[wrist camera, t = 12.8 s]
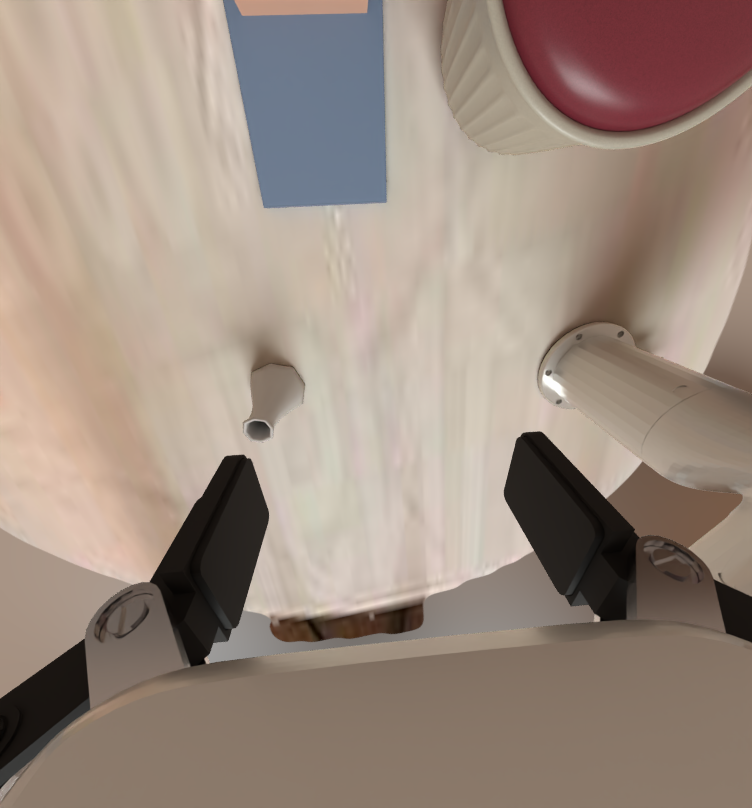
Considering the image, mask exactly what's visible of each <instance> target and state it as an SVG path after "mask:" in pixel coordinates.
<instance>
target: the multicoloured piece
mask: <svg viewBox="0 0 752 808" xmlns="http://www.w3.org/2000/svg"><path fill="white" fill-rule="evenodd" d="M223 2H224V7H225V12H226V18H227V23H228V28H229V33H230V38H231V43H232V48H233V53H234V58H235V63H236V68H237V73H238V79H239V84H240V89H241V94H242V99H243V104H244V109H245V114H246V119H247V124H248V129H249V135H250V140H251V145H252V150H253V155H254V160H255V165H256V170H257V175H258V180H259V185H260V190H261V196H262V201H263V206H264V208H281V207H303V206H324V205H345V204H367V203H386V202H387V199H386V152H385V105H384V57H383V10H382V0H223Z"/></svg>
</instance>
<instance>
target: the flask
mask: <svg viewBox="0 0 752 808" xmlns="http://www.w3.org/2000/svg"><path fill="white" fill-rule="evenodd" d="M304 389H305V385H304V383H303V381H302V380H301V378H300V377H299V375H298V374H297V372H296V371H295V369H294V368H293V367H288V366H282V365H277V364H271V363H270V364H268V365H266V366H264V367H262V368H260V369H258V370H255V371H253V372H251V397H252V404H253V408H252V413H251V415H250V417H249V419H247V420H245V421H244V422H243V433H244V434H245V435H246V437H247V438H248V439H249V440H250V441H253V442H261V443H263V442H265V441H268V440H270V439H272V438H273V433H274V426H275V425H276V424H277V423H278V421H279V420H280V419H281V418H282V417H284V416H285V415H287V414H288V413H289V412H291V411H292V410H294V409H295V408H297V407H298V406H300V405H301V404H303V397H304Z"/></svg>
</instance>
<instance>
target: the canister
mask: <svg viewBox="0 0 752 808" xmlns="http://www.w3.org/2000/svg"><path fill="white" fill-rule="evenodd" d="M442 33H443V39H442V44H441V55H442V67H441V71H442V75H443V78H444V90H445V92H446V95H447V99H448V105H449V106H450V108H451V110H452V112H453V117H454V119H455V120H456V121H457V122H458V124H459V126H460V129H461V130H463V131H464V132H465V133H466V134H467V136H468V138H469V139H470V140H473V141H474V142H475V143H476V144H477V145H478V146H479V147H483V148H485V149H487V151H489V152H497V153H498V154H501V155H506V154H511V155H521V154H530V153H537V152H543V151H549V150H555V149H561V148H566V147H572V146H577V145H584V146H588V147H592V148H598V149H608V150H620V149H631V148H637V147H642V146H646V145H650V144H653V143H657V142H660V141H663V140H666V139H668V138H671V137H673V136H676V135H678V134H680V133H682V132H684V131H686V130H688V129H690V128H692V127H694V126H696V125H698V124H700V123H701V122H703V121H705V120H706V119H708V118H709V117H711V116H713V115H714V114H716V113H717V112H719V111H720V110H722V109H723V108H724V107H726V106H727V105H728V104H730V103H731V102H732V101H734V100H735V99H736V98H738V97H739V96H740V95H741V94H743V93H744V92H745V91H746V90H747V89H749V88H750V87H751V86H752V0H447V7H446V12H445V16H444V21H443V29H442Z"/></svg>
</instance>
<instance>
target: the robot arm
mask: <svg viewBox="0 0 752 808" xmlns="http://www.w3.org/2000/svg"><path fill="white" fill-rule="evenodd" d="M538 385H539V389H540V392H541V394H542V395H543V396H544V398H545V399H546V400H547V401H549V402H550V403H551V404H553V405H554V406H556V407H559V408H563V409H577V410H578V411H580V412H581V413H582V414H584V415H585V416H586V417H587V418H589V419H590V420H591V421H592V422H594V423H595V424H596V425H598V426H599V427H600V428H601V429H603V430H604V431H605V432H606V433H608V434H609V435H610V436H612V437H613V438H614V439H615V440H617V441H618V442H619V443H620V444H622V445H623V446H624V447H625V448H627V449H628V450H629V451H631V452H632V453H633V454H634V455H636V456H637V457H638V458H639V459H641V460H642V461H643V462H645V463H646V464H647V465H649V466H650V467H651V468H652V469H654V470H655V471H656V472H658V473H659V474H660V475H662V476H663V477H665V478H667V479H669V480H671V481H672V482H675V483H677V484H680V485H683V486H686V487H690V488H694V489H699V490H706V491H713V492H724V493H737V494H742V495H743V500H742V502H741V503H740V505H738V506H737V507H736V508H735V509H734V510H733V511H732V512H731V513H730V514H729V516H728V517H727V518H726V519H724V520H723V521H722V522H721V523H719V524H718V525H717V526H715V527H714V528H713V529H712V530H710V531H709V532H708V533H707V534H706V535H704V536H703V537H702V538H700V539H699V540H698V541H697V542H696V543H694V544H693V545H692V546H690V547H689V548H688V549H687V548H686V547H684V546H683V545H681V544H679V543H677V542H675V541H673V540H670V539H667V538H664V537H661V536H654V535H647V536H643V537H641V538H639V537H638V536H637V535H636V534H635V533H634V530H635V529H634V528H633V527H632V526H631V525H630V524H629V523H628V522H627V521H626V520H625V519H624V518H623V516H621V514H620V513H619V512H618V511H617V510H616V509H615V508H614V507H613V506H612V505H611V504H610V503H609V502H608V501H607V500H606V499H605V498H604V497H603V495H602V494H601V493H600V492H599V491H598V490H597V489H596V488H595V487H594V486H593V485H592V484H591V483H590V482H589V481H588V480H587V479H586V478H585V477H584V475H583V474H582V473H581V472H580V471H579V470H578V469H577V468H576V467H575V466H574V465H573V464H572V463H571V462H570V461H569V460H568V459H567V458H566V457H565V456H564V454H563V453H562V452H561V451H560V450H559V449H558V448H557V447H556V446H555V445H554V444H553V443H552V442H551V441H550V440H549V439H548V438H547V437H546V436H545V434H543V433H542V432H526V433H523V434H522V435H521V437H518V438H517V440H516V444H515V448H514V452H513V456H512V460H511V464H510V468H509V472H508V476H507V480H506V484H505V488H504V497H505V500H506V502H507V504H508V506H509V507H510V509H511V511H512V513H513V514H514V516H515V518H516V520H517V521H518V523H519V525H520V527H521V528H522V530H523V532H524V534H525V535H526V537H527V539H528V541H529V542H530V544H531V546H532V548H533V549H534V551H535V553H536V554H537V556H538V558H539V560H540V561H541V563H542V565H543V567H544V569H545V570H546V572H547V574H548V576H549V577H550V579H551V581H552V583H553V584H554V586H555V588H556V589H557V591H558V592H559V593H560V594H561V595H565V597H566V598H567V600H568V602H569V604H570V605H571V606H579V605H589V606H590V607H591V609H592V610H593V612H594V614H595V615H594V622H589V623H576V624H564V625H553V626H543V627H533V628H523V629H513V630H503V631H493V632H482V633H473V634H463V635H453V636H444V637H434V638H424V639H415V640H405V641H396V642H386V643H376V644H367V645H358V646H349V647H340V648H330V649H322V650H312V651H303V652H294V653H285V654H276V655H268V656H260V657H253V658H245V659H237V660H230V661H222V662H215V663H210V662H209V660H208V657H207V656H208V655H209V654H210V651H211V648H212V645H213V643H216V642H225V641H228V640H229V637H230V634H231V630H232V629H233V628H236V627H237V626H238V624H239V621H240V617H241V614H242V611H243V607H244V604H245V601H246V597H247V594H248V590H249V587H250V583H251V580H252V576H253V573H254V569H255V566H256V563H257V559H258V556H259V552H260V549H261V545H262V542H263V538H264V535H265V531H266V528H267V525H268V521H269V511H268V508H267V505H266V502H265V499H264V496H263V493H262V490H261V487H260V484H259V481H258V478H257V475H256V472H255V469H254V466H253V463H252V461H251V459H249V458H248V459H247V458H246V456H245V455H232V456H226V457H224V459H223V460H222V462H221V464H220V466H219V467H218V469H217V471H216V473H215V474H214V476H213V478H212V480H211V481H210V483H209V485H208V487H207V489H206V490H205V492H204V494H203V496H202V497H201V498H200V499H198V500H197V502H196V503H195V504H194V506H193V508H192V510H191V511H190V513H189V515H188V517H187V518H186V520H185V522H184V523H183V525H182V527H181V529H180V530H179V532H178V534H177V536H176V537H175V539H174V541H173V542H172V544H171V546H170V548H169V549H168V551H167V553H166V555H165V556H164V558H163V560H162V561H161V563H160V565H159V567H158V568H157V570H156V572H155V574H154V575H153V577H152V579H151V580H150V582H141V583H138V584H134V585H131V586H129V587H127V588H125V589H123V590H121V591H120V592H118V593H117V594H115V595H114V596H113V597H111V598H110V599H109V600H108V601H107V602H106V603H105V604H104V605H103V606H102V607H100V608H99V610H98V611H97V612H96V614H95V615H94V617H93V618H92V619H91V621H90V623H89V625H88V627H87V629H86V635H85V639H83V640H82V641H81V642H79V643H78V644H77V645H75V646H74V647H72V648H71V649H69V650H68V651H67V652H65V653H64V654H62V655H61V656H60V657H58V658H57V659H55V660H54V661H52V662H51V663H50V664H48V665H47V666H45V667H44V668H43V669H41V670H40V671H38V672H37V673H36V674H34V675H33V676H32V677H30V678H29V679H27V680H26V681H24V682H23V683H22V684H20V685H19V686H17V687H16V688H14V689H13V690H12V691H10V692H9V693H7V694H6V695H5V696H3V697H2V698H1V699H0V808H752V394H751V393H748V392H746V391H743V390H741V389H738V388H735V387H733V386H730V385H728V384H726V383H723V382H720V381H718V380H716V379H713V378H711V377H708V376H706V375H703V374H701V373H698V372H696V371H693V370H691V369H688V368H686V367H684V366H681V365H679V364H676V363H674V362H671V361H669V360H666V359H664V358H663V357H659V356H656V355H654V354H651V353H649V352H646V351H644V350H642V349H639V348H637V347H635V342H634V339H633V337H632V335H631V334H630V333H629V332H628V331H627V330H626V329H625V328H623V327H621V326H619V325H616V324H613V323H608V322H594V323H590V324H586V325H583V326H580V327H578V328H576V329H574V330H572V331H571V332H569V333H567V334H566V335H565V336H563V337H562V338H561V339H560V340H558V341H557V342H556V343H555V344H554V346H553V347H552V348H551V349H550V350H549V352H548V353H547V355H546V356H545V358H544V360H543V362H542V364H541V367H540V370H539V375H538Z"/></svg>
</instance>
